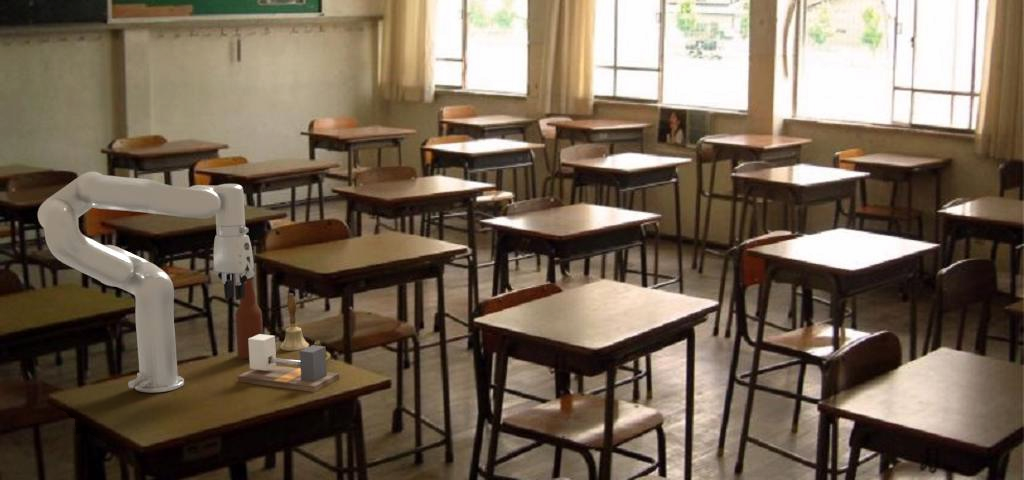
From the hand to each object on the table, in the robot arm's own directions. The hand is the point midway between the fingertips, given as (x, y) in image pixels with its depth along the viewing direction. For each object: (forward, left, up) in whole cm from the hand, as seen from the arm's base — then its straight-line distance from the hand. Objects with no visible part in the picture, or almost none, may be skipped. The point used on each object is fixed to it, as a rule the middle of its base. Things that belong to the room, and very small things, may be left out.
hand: (234, 297), depth 334 cm
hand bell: (+28, +1, -21) cm, 35 cm away
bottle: (+15, +7, -21) cm, 27 cm away
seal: (+19, -12, -22) cm, 31 cm away
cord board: (0, -16, -21) cm, 27 cm away
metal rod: (0, -14, -17) cm, 22 cm away
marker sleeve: (0, -8, -18) cm, 20 cm away
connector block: (0, -24, -20) cm, 31 cm away
